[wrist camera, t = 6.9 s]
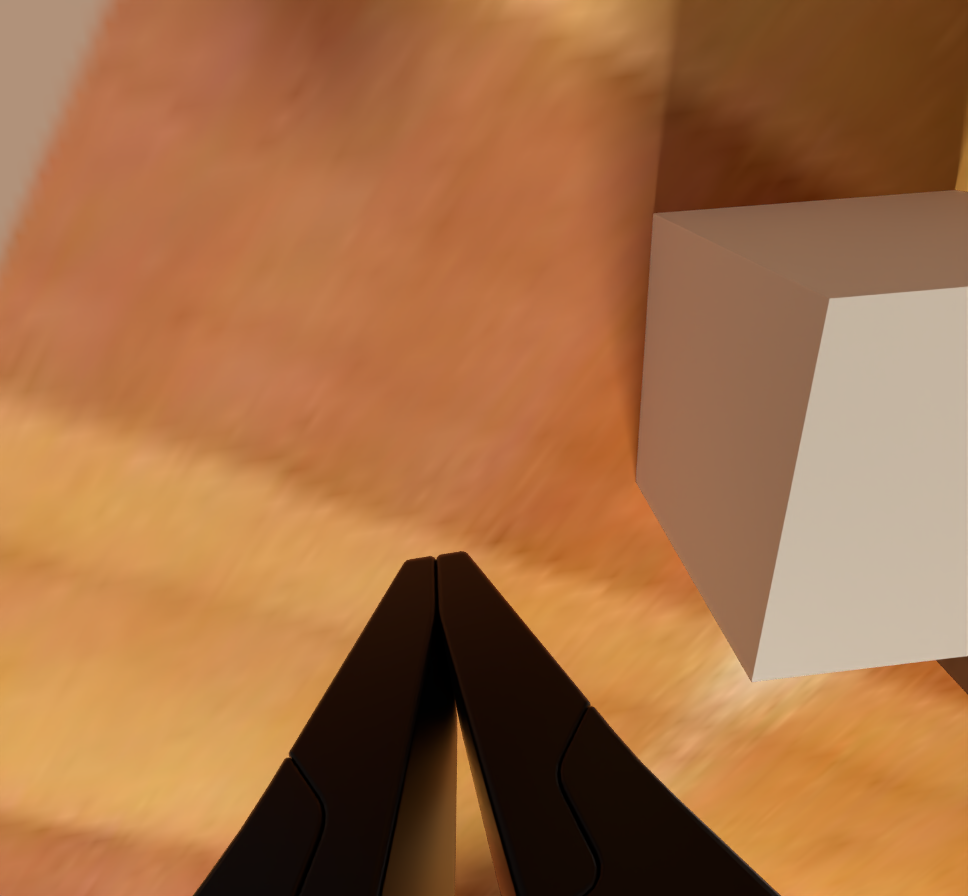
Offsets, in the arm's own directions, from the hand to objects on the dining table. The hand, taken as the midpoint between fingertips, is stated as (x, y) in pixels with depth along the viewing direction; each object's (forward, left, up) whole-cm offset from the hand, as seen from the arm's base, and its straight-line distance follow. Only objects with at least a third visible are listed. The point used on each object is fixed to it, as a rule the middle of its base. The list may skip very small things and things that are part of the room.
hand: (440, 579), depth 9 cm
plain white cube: (-8, 0, -6) cm, 9 cm away
